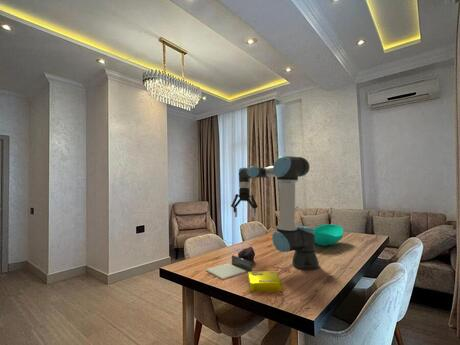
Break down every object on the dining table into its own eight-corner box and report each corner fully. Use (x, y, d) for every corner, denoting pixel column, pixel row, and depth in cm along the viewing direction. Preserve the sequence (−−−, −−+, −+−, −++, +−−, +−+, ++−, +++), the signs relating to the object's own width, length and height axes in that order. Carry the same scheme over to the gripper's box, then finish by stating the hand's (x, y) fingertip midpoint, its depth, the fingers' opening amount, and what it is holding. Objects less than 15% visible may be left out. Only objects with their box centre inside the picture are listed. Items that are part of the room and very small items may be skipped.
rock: (236, 263, 149) (248, 267, 141) (234, 250, 149) (245, 253, 141) (249, 256, 157) (260, 259, 149) (247, 244, 156) (258, 246, 149)
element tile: (250, 293, 106) (249, 282, 107) (247, 279, 121) (247, 270, 122) (282, 292, 106) (282, 281, 107) (276, 279, 121) (276, 269, 122)
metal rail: (252, 270, 133) (252, 261, 133) (249, 271, 132) (249, 262, 132) (234, 263, 146) (233, 254, 147) (231, 263, 145) (231, 255, 145)
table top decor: (320, 237, 208) (319, 222, 209) (352, 243, 187) (351, 226, 188) (293, 245, 183) (293, 228, 184) (327, 253, 162) (326, 234, 163)
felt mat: (246, 272, 130) (246, 270, 131) (222, 279, 121) (222, 278, 121) (227, 264, 144) (227, 263, 144) (205, 270, 134) (205, 269, 134)
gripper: (257, 190, 181) (258, 218, 175) (226, 188, 173) (226, 217, 167) (261, 188, 174) (262, 217, 168) (230, 186, 166) (230, 216, 160)
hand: (244, 217), depth 168 cm, fingers open, 13 cm apart
